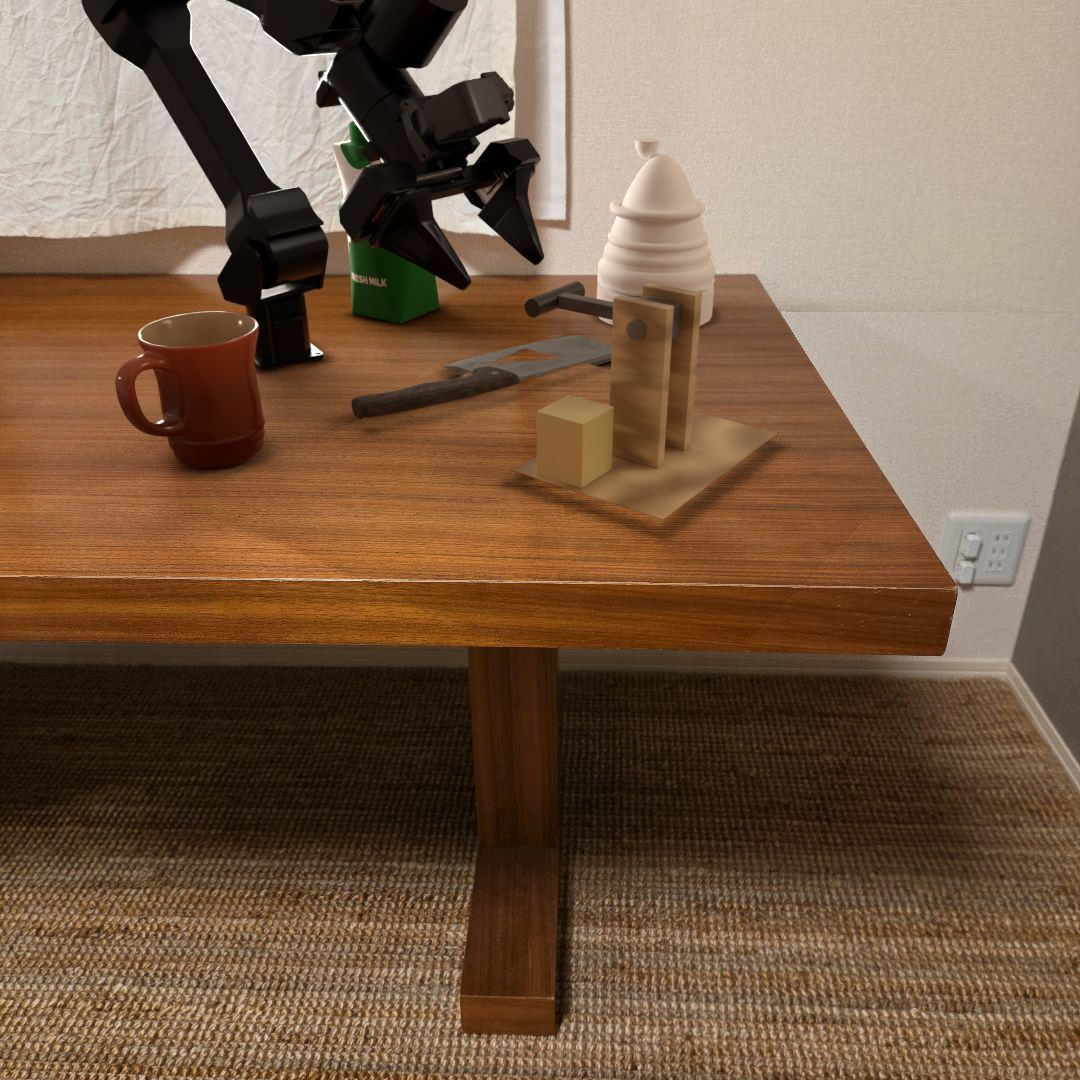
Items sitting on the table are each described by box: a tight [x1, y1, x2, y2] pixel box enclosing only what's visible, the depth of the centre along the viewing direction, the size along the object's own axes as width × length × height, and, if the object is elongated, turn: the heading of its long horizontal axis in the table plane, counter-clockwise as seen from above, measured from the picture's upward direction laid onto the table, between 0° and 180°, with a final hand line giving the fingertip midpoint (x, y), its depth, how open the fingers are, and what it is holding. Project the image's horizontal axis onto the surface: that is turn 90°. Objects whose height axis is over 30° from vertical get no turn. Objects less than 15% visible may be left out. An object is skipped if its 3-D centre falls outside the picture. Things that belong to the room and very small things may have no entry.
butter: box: [536, 394, 614, 488], centre depth 73 cm, size 4×4×5 cm
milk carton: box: [331, 121, 441, 325], centre depth 109 cm, size 9×9×20 cm
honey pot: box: [596, 137, 716, 326], centre depth 108 cm, size 13×13×18 cm
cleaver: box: [350, 334, 612, 420], centre depth 94 cm, size 29×10×2 cm, turn 131°
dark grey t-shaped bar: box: [524, 280, 682, 340], centre depth 75 cm, size 11×6×2 cm, turn 53°
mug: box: [114, 311, 266, 470], centre depth 76 cm, size 12×9×10 cm
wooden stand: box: [511, 283, 778, 521], centre depth 75 cm, size 13×18×13 cm
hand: (505, 273), depth 79 cm, fingers open, 9 cm apart
